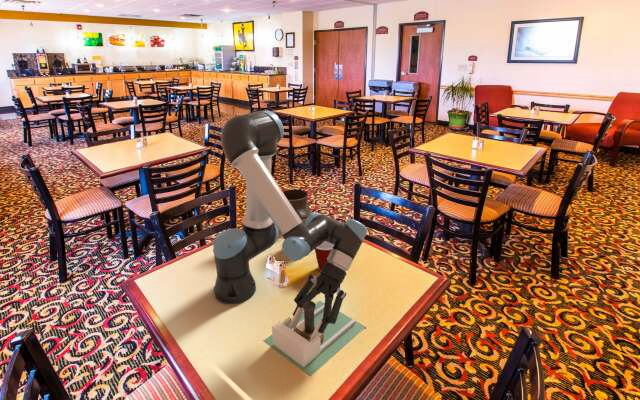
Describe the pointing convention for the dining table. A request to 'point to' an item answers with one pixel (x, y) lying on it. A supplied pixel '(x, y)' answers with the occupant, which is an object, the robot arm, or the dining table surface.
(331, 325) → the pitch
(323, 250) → the plastic cup
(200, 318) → the dining table surface
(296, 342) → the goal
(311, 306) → the rubber stamp
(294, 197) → the plant pot
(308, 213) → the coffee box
